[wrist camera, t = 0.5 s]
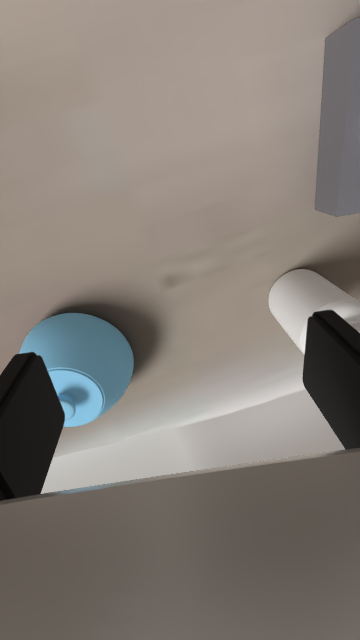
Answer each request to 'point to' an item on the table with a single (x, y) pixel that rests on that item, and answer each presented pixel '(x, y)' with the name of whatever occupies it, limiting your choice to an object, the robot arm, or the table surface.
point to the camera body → (340, 124)
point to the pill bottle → (308, 302)
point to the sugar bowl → (83, 363)
